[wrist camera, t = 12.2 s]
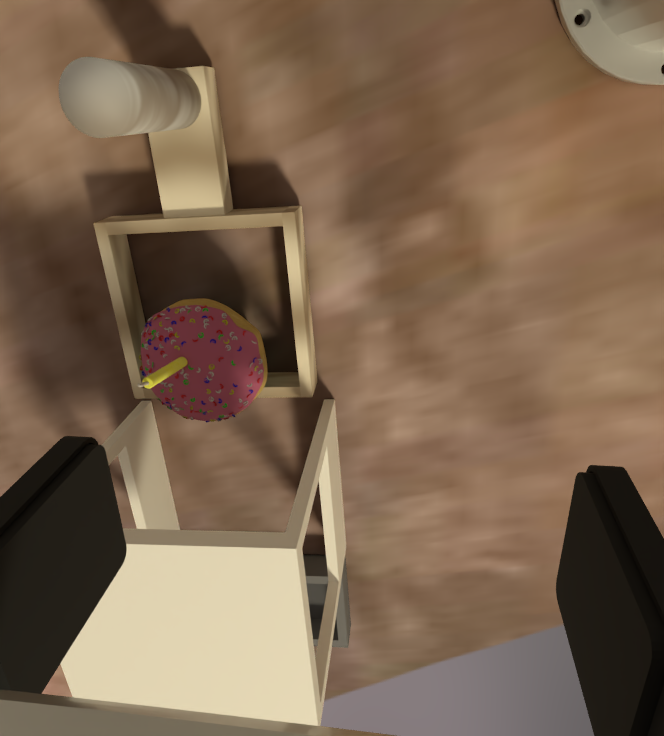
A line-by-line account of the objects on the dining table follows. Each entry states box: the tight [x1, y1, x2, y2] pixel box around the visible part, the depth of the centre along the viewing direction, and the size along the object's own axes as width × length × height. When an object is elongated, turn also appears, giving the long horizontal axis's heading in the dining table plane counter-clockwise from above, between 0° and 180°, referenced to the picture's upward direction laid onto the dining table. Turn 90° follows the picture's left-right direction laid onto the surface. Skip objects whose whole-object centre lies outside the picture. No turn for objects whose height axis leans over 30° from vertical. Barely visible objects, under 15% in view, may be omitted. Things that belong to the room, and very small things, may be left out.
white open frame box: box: [60, 399, 346, 726], centre depth 40 cm, size 14×15×16 cm
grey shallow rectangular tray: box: [303, 554, 351, 648], centre depth 51 cm, size 8×15×2 cm, turn 94°
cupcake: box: [137, 298, 267, 422], centre depth 37 cm, size 9×8×12 cm
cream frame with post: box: [59, 57, 318, 399], centre depth 34 cm, size 21×13×12 cm, turn 4°
